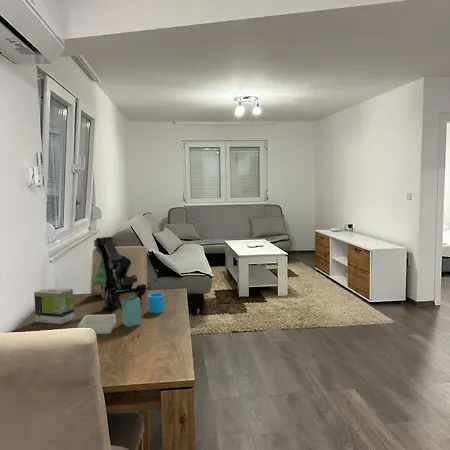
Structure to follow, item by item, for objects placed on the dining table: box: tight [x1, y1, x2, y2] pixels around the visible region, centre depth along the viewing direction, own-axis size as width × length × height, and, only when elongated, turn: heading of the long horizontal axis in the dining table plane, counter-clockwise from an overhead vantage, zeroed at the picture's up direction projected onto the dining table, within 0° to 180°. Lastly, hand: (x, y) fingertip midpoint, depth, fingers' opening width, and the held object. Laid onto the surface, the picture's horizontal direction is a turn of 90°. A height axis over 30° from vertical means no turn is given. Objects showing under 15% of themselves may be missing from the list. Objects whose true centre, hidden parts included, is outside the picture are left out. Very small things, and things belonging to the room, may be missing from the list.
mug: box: [147, 292, 165, 314], centre depth 224 cm, size 12×8×8 cm
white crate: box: [77, 313, 117, 335], centre depth 195 cm, size 14×14×4 cm
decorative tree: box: [91, 259, 115, 296], centre depth 255 cm, size 14×16×30 cm
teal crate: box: [121, 295, 142, 328], centre depth 201 cm, size 7×7×12 cm
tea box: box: [33, 287, 75, 325], centre depth 209 cm, size 15×10×15 cm
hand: (131, 307), depth 201 cm, fingers open, 9 cm apart
